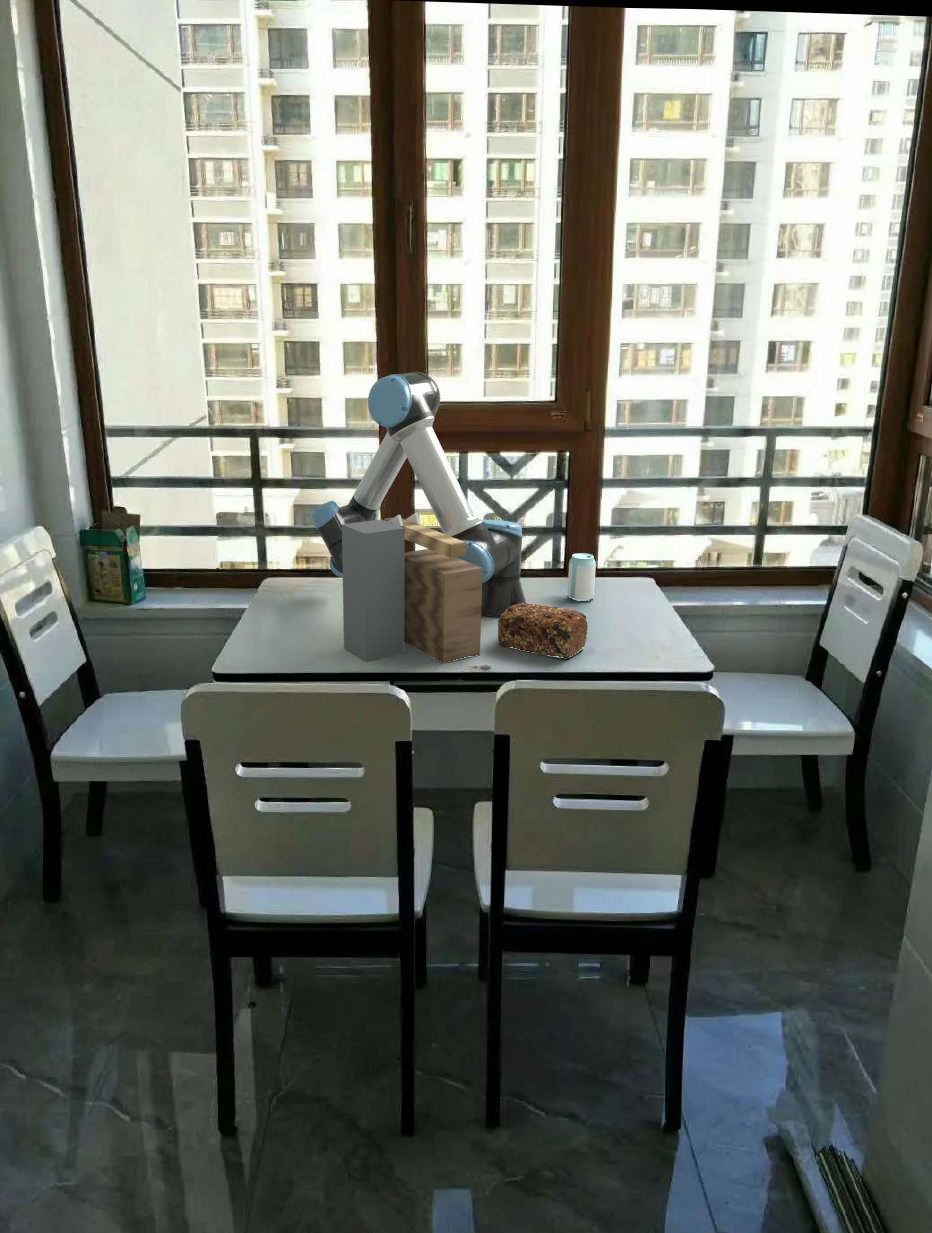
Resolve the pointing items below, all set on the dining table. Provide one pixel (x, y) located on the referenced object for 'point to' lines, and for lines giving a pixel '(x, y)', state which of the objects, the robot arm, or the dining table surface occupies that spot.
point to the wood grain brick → (442, 605)
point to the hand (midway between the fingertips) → (409, 519)
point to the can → (581, 576)
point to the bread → (543, 629)
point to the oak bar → (433, 539)
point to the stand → (373, 588)
